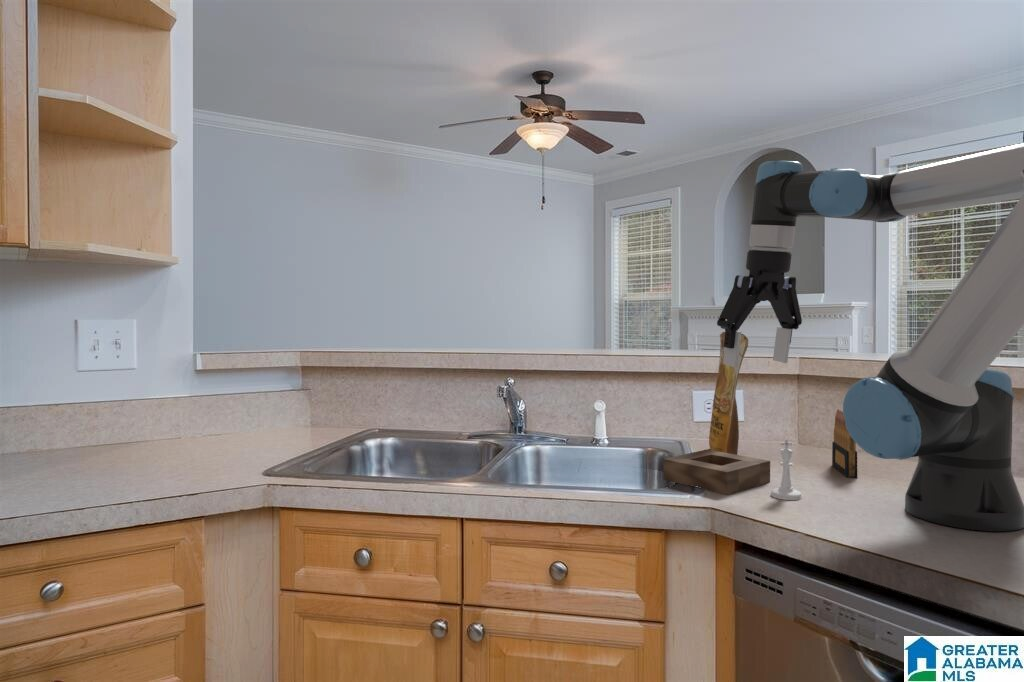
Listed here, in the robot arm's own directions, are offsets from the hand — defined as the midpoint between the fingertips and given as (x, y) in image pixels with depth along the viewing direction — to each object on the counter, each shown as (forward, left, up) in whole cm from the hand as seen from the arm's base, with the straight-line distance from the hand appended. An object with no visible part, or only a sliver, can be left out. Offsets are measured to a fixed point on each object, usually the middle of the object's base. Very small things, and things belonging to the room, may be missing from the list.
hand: (755, 363), depth 118 cm
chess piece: (-9, +5, -23) cm, 25 cm away
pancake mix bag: (+18, -18, -23) cm, 35 cm away
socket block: (+5, +5, -22) cm, 24 cm away
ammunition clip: (-7, -21, -23) cm, 32 cm away
